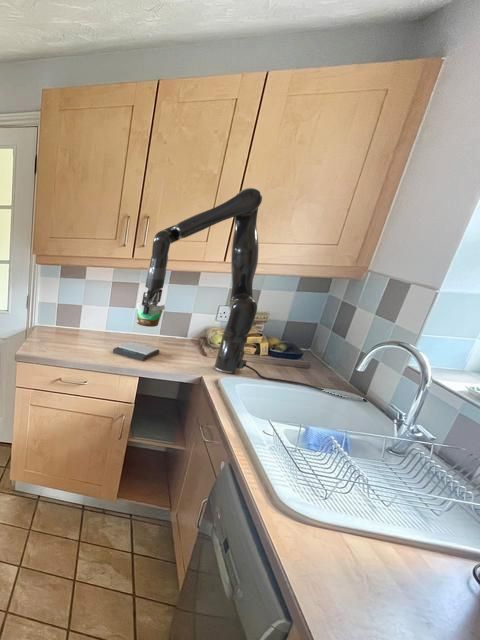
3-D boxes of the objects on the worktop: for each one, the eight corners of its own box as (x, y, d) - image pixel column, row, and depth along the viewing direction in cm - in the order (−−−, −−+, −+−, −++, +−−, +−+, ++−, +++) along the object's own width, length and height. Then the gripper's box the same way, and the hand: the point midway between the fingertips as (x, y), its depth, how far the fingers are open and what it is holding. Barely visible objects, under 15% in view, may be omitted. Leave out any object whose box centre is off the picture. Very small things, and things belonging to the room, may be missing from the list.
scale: (158, 353, 206) (159, 348, 205) (142, 361, 196) (144, 355, 195) (129, 346, 217) (129, 341, 216) (112, 352, 207) (113, 347, 206)
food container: (132, 325, 195) (135, 304, 191) (133, 322, 200) (137, 301, 196) (160, 328, 190) (164, 307, 186) (161, 325, 195) (165, 304, 191)
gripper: (156, 280, 179) (149, 317, 186) (171, 276, 188) (163, 312, 195) (140, 277, 184) (134, 314, 191) (155, 274, 193) (148, 309, 200)
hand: (149, 313), depth 193 cm, fingers closed on food container, 7 cm apart
